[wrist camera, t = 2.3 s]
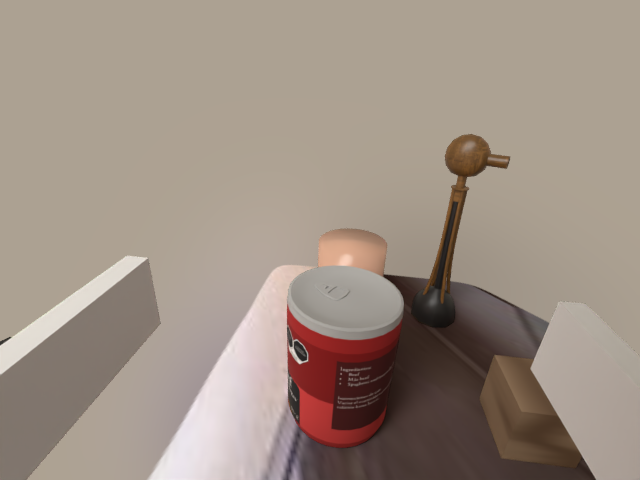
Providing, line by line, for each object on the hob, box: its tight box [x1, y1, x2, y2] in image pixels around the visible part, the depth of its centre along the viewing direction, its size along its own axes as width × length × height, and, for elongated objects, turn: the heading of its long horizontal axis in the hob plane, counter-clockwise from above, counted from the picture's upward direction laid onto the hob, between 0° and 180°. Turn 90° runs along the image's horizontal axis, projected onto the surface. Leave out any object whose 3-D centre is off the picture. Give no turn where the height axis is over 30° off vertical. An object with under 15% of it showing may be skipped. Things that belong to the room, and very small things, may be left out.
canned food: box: [287, 265, 404, 448], centre depth 25 cm, size 8×8×11 cm
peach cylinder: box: [318, 229, 387, 277], centre depth 36 cm, size 7×7×9 cm
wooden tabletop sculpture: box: [411, 134, 510, 327], centre depth 34 cm, size 6×5×20 cm
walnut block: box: [479, 355, 582, 468], centre depth 25 cm, size 5×5×5 cm
